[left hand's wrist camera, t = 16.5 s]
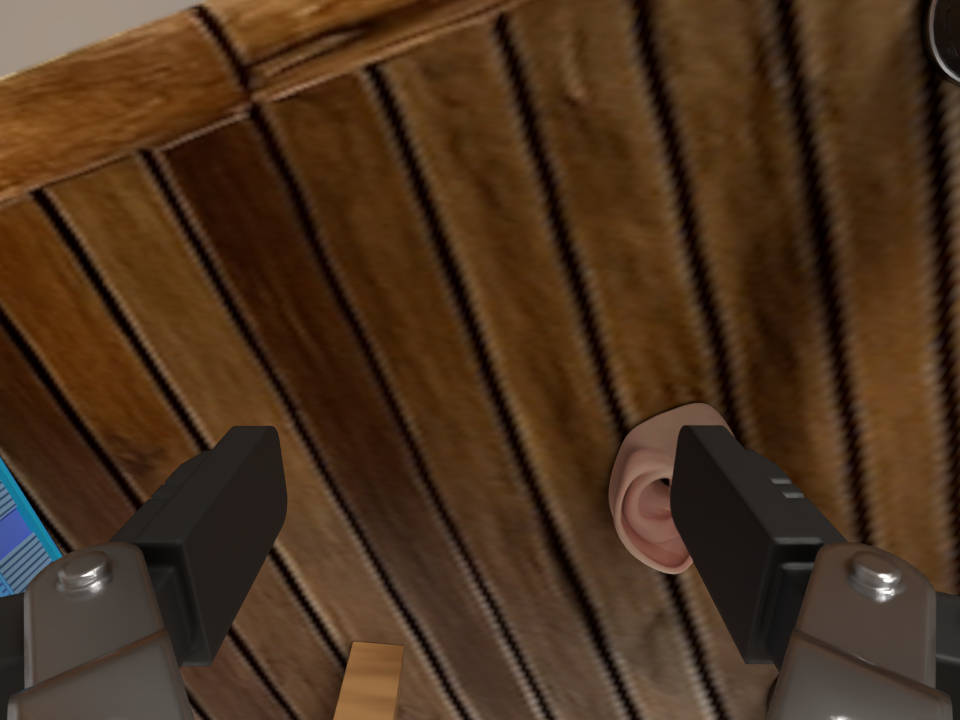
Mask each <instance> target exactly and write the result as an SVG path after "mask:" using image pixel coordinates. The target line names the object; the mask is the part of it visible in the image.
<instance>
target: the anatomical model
mask: <svg viewBox="0 0 960 720" xmlns="http://www.w3.org/2000/svg"><path fill="white" fill-rule="evenodd" d="M684 425H723V426H725V427H726V428H727V429H728V431H729V432H730V433H731V434H732V435H733V433H732V431H731V430H730V428H729V426H728V425H727V423H726V422H725V420H724V419H723V418H722V416H721V415H720V414H719V413H718V412H717V411H716V410H715V409H714V408H713V407H711V406H710V405H708V404H705V403H693V404H688V405H685V406H681V407H678V408H675V409H673V410H670V411H667V412H665V413H662V414H659V415H657V416H655V417H653V418H651V419H649V420H647V421H645V422H644V423H642V424H640V425H638V426H637V427H635V428H634V429H633V430H631V431H630V432H629V434H628V435H627V436H626V437H625V439H624V441H623V443H622V445H621V447H620V450H619V452H618V455H617V458H616V461H615V464H614V467H613V470H612V474H611V479H610V484H609V505H610V509H611V513H612V516H613V521H614V525H615V528H616V531H617V533H618V535H619V538H620V539H621V541H622V543H623V544H624V545H625V547H626V548H627V549H628V551H629V552H630V553H631V554H632V555H634V556H635V557H636V558H637V559H638V560H640V561H641V562H643V563H645V564H646V565H648V566H650V567H652V568H654V569H656V570H659V571H661V572H665V573H669V574H678V573H681V572H683V571H685V570H686V569H687V568H688V567H689V566H690V565H691V563H692V562H693V560H692V558H691V556H690V554H689V552H688V550H687V548H686V546H685V544H684V542H683V541H682V539H681V537H680V535H679V533H678V531H677V529H676V527H675V525H674V522H673V519H672V515H671V509H670V490H671V483H672V476H673V469H674V462H675V454H676V447H677V440H678V435H679V431H680V429H681V428H682V426H684ZM733 436H734V435H733Z"/></svg>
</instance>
